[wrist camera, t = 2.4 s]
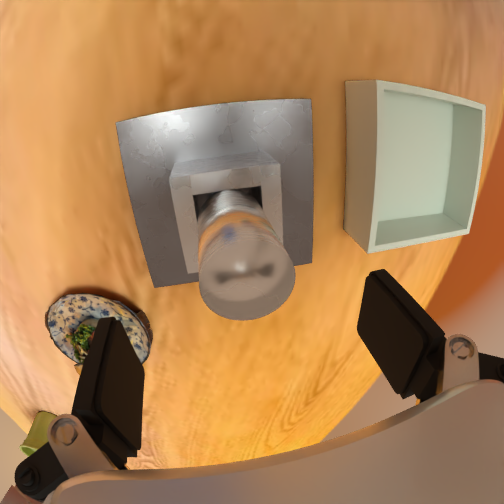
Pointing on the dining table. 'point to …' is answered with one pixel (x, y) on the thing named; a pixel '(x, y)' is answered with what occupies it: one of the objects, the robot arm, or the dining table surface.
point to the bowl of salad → (93, 325)
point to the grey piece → (234, 232)
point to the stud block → (212, 145)
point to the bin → (410, 164)
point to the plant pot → (37, 433)
